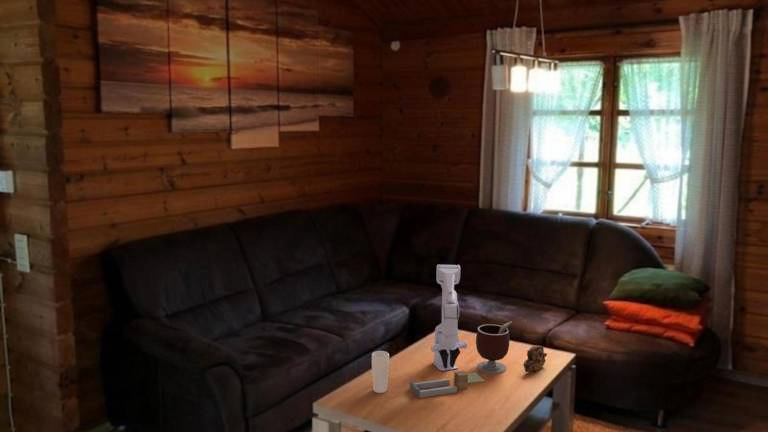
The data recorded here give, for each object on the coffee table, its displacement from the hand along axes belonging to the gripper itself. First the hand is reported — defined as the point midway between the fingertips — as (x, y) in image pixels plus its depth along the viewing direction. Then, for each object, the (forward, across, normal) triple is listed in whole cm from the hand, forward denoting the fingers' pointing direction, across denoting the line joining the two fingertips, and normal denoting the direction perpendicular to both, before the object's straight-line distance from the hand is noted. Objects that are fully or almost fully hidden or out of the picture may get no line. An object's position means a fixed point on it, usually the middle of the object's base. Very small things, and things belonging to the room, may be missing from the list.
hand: (448, 367), depth 246 cm
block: (+9, +5, 0) cm, 10 cm away
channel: (+9, -6, 0) cm, 11 cm away
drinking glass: (+9, -26, +6) cm, 28 cm away
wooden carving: (+9, +43, +6) cm, 45 cm away
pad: (+9, +13, +6) cm, 17 cm away
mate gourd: (+9, +27, +13) cm, 31 cm away
